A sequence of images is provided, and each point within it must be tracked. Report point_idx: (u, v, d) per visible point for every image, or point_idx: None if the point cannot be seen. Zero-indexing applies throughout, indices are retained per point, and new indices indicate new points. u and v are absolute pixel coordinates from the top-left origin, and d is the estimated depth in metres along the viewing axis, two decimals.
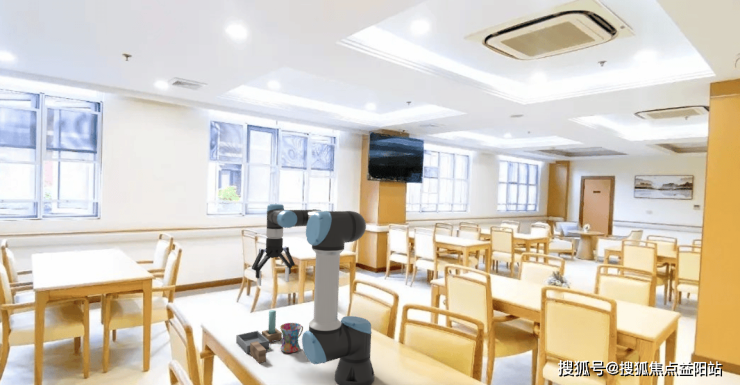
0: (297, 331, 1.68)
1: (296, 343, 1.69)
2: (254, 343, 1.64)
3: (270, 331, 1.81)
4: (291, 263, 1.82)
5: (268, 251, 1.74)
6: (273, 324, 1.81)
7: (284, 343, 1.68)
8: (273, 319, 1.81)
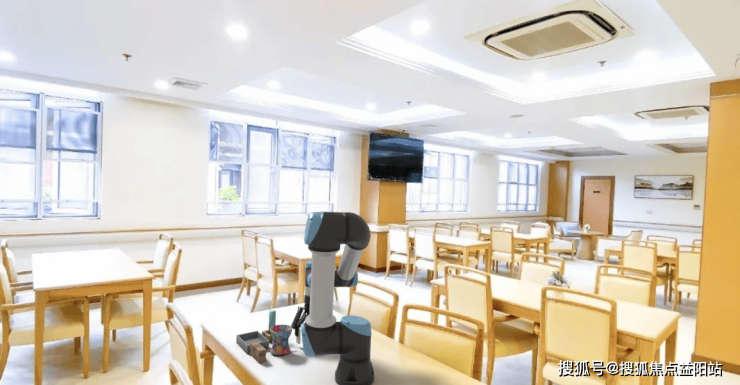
0: (288, 333, 1.66)
1: (287, 345, 1.67)
2: (254, 343, 1.64)
3: (270, 331, 1.81)
4: None
5: (307, 309, 1.74)
6: (273, 324, 1.81)
7: (275, 346, 1.65)
8: (273, 319, 1.81)
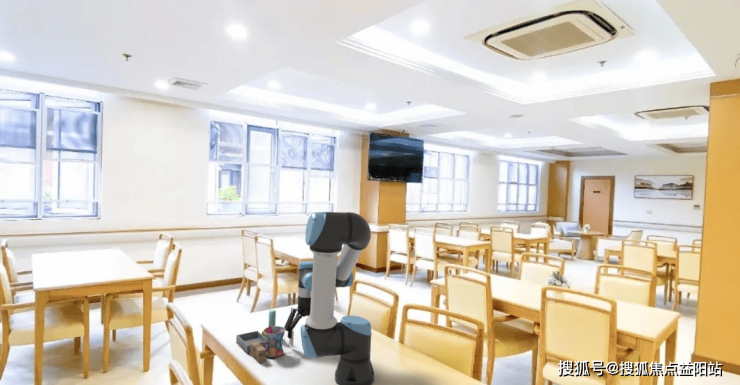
0: (282, 334, 1.64)
1: (280, 346, 1.65)
2: (254, 343, 1.64)
3: None
4: None
5: (300, 310, 1.72)
6: (273, 324, 1.81)
7: (268, 348, 1.63)
8: (273, 319, 1.81)
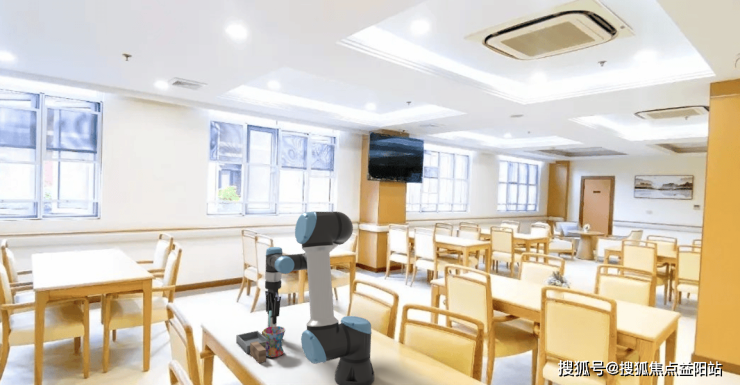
0: (282, 334, 1.64)
1: (280, 347, 1.65)
2: (254, 343, 1.64)
3: None
4: None
5: (268, 291, 1.84)
6: None
7: (268, 348, 1.63)
8: None
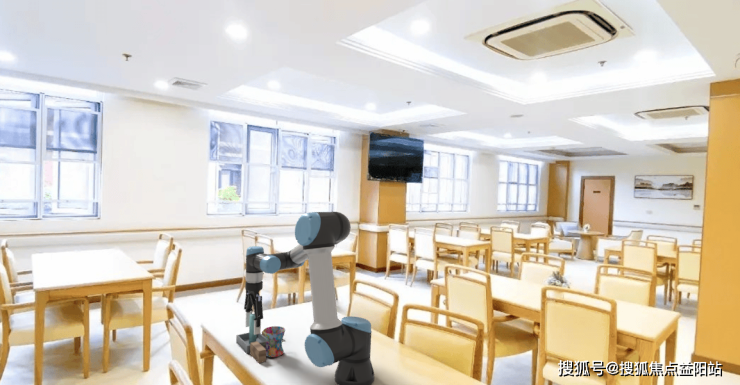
0: (282, 334, 1.64)
1: (280, 347, 1.65)
2: (254, 343, 1.64)
3: (251, 336, 1.72)
4: None
5: (248, 293, 1.75)
6: None
7: (268, 348, 1.63)
8: None
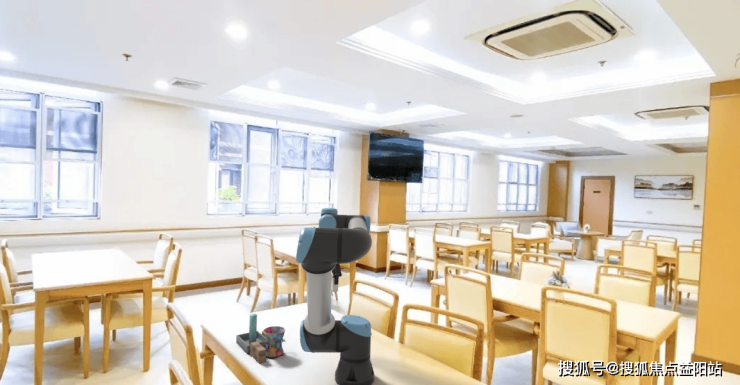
0: (282, 334, 1.64)
1: (280, 347, 1.65)
2: (254, 343, 1.64)
3: (251, 336, 1.72)
4: (336, 273, 1.68)
5: None
6: (254, 328, 1.72)
7: (268, 348, 1.63)
8: (254, 323, 1.72)
